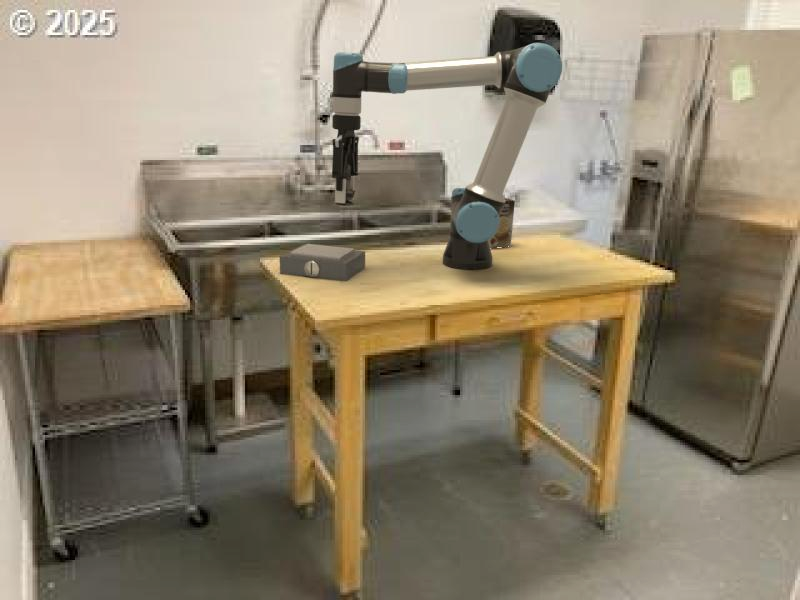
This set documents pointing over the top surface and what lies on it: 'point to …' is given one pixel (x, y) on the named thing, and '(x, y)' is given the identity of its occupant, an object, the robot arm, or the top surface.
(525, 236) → the top surface
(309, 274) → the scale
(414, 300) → the top surface
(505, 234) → the coffee box
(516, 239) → the top surface
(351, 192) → the dark chess piece
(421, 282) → the top surface
